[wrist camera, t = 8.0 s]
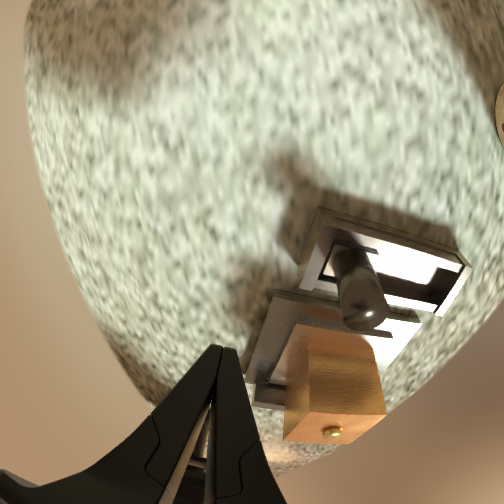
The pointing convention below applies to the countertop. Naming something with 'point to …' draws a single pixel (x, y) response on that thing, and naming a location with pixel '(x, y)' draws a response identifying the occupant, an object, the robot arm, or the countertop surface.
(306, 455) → the countertop surface
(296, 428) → the block
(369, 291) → the lever
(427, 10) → the countertop surface
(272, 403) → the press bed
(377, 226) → the lever track
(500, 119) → the mug
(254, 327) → the countertop surface
